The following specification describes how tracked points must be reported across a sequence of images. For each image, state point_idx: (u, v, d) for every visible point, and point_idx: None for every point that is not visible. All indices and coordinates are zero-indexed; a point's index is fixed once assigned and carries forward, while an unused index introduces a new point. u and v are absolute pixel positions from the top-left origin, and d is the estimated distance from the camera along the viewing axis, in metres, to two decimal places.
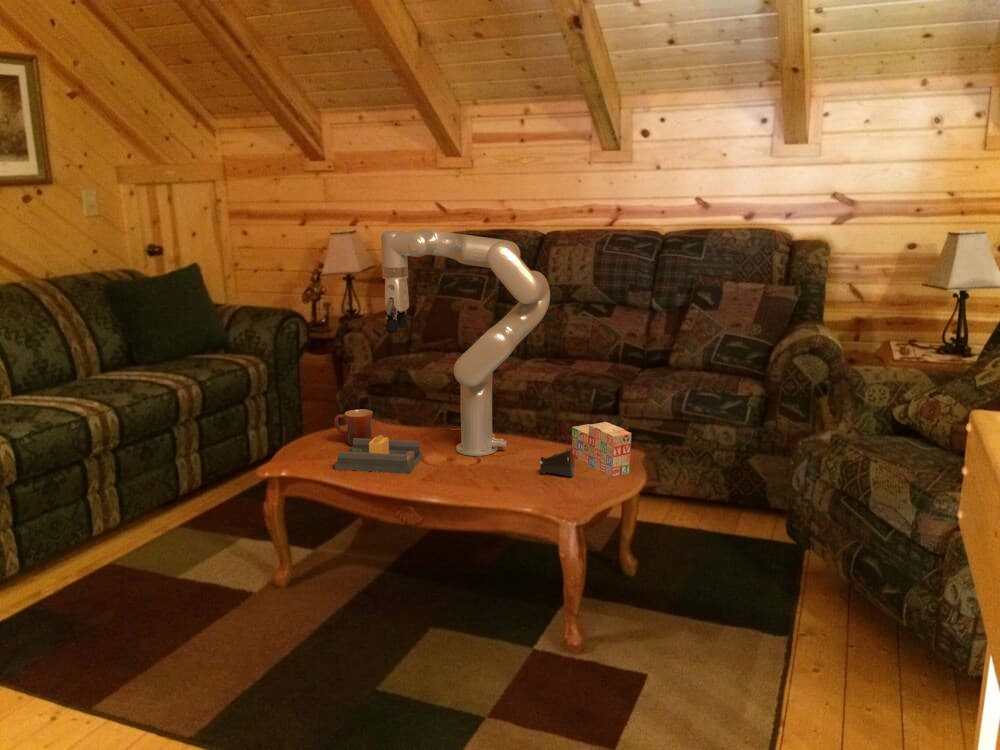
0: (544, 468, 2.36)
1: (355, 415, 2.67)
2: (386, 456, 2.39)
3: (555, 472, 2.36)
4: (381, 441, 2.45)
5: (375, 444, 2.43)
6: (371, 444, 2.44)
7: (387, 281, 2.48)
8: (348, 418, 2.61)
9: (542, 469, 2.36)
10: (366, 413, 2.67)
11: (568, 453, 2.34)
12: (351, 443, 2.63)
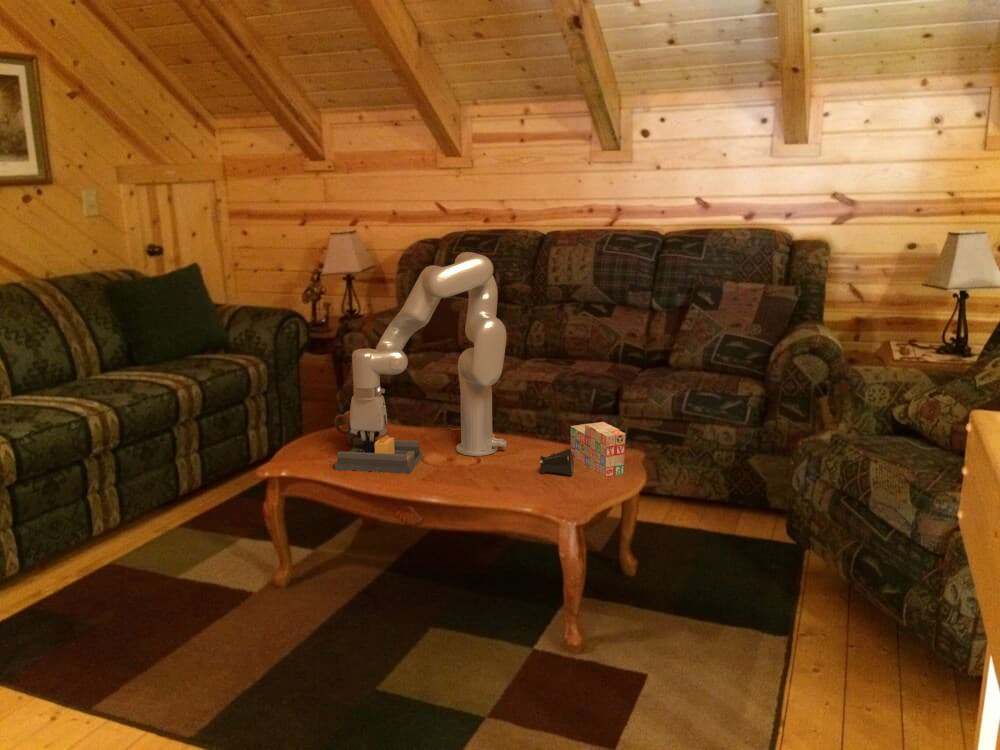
0: (544, 467, 2.37)
1: None
2: (386, 456, 2.39)
3: (555, 471, 2.37)
4: (387, 441, 2.45)
5: (381, 444, 2.43)
6: (377, 444, 2.43)
7: (380, 400, 2.42)
8: (348, 418, 2.61)
9: (542, 468, 2.37)
10: None
11: (568, 452, 2.35)
12: (351, 443, 2.63)
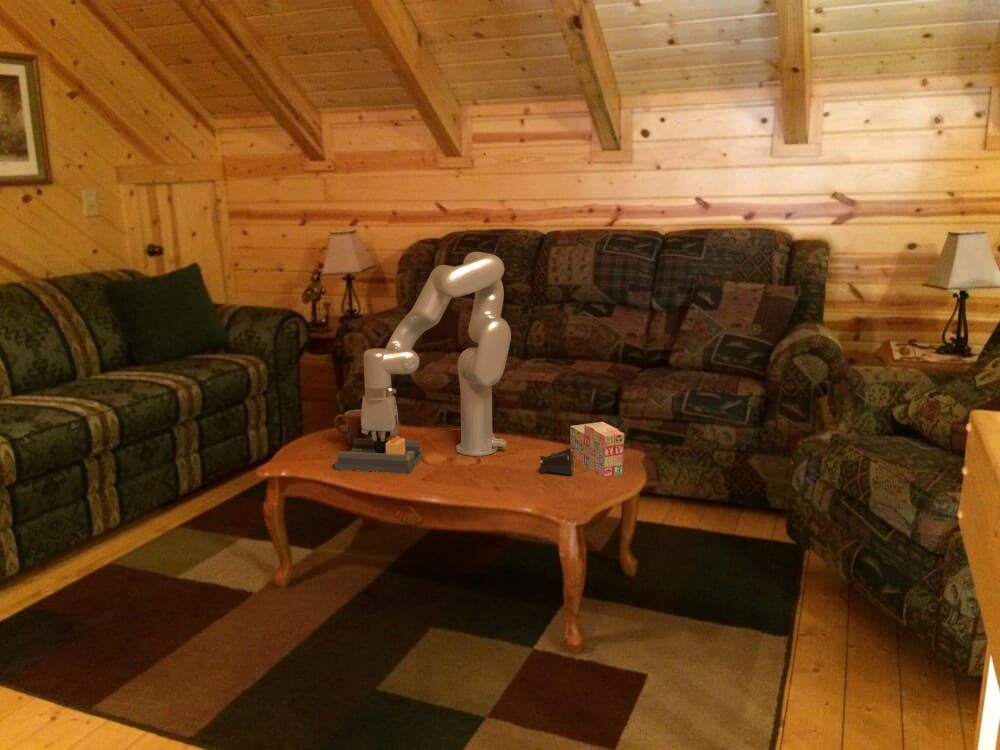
0: (544, 467, 2.37)
1: (355, 415, 2.67)
2: (386, 456, 2.39)
3: (555, 471, 2.37)
4: (398, 442, 2.44)
5: (392, 445, 2.43)
6: (388, 445, 2.43)
7: (391, 400, 2.42)
8: (348, 418, 2.61)
9: (542, 468, 2.37)
10: None
11: (568, 452, 2.36)
12: (351, 443, 2.63)
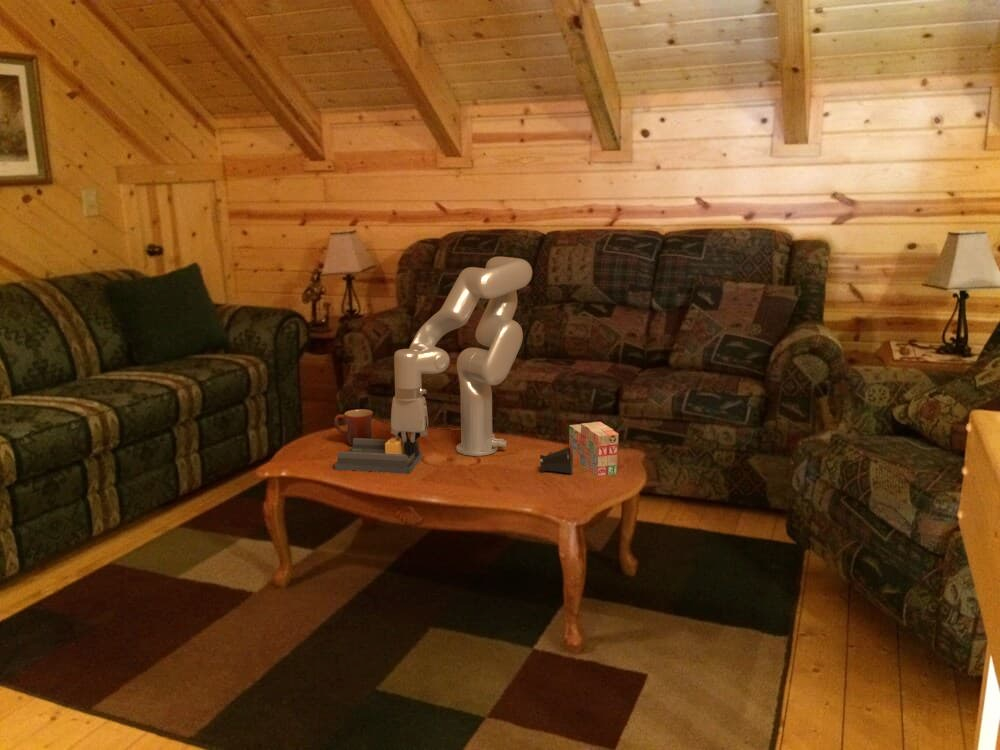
0: (544, 466, 2.38)
1: (355, 415, 2.67)
2: (386, 456, 2.39)
3: (555, 469, 2.38)
4: (397, 442, 2.44)
5: (391, 445, 2.43)
6: (387, 445, 2.43)
7: (422, 401, 2.40)
8: (348, 418, 2.61)
9: (542, 467, 2.38)
10: (366, 413, 2.67)
11: (568, 450, 2.37)
12: (351, 443, 2.63)
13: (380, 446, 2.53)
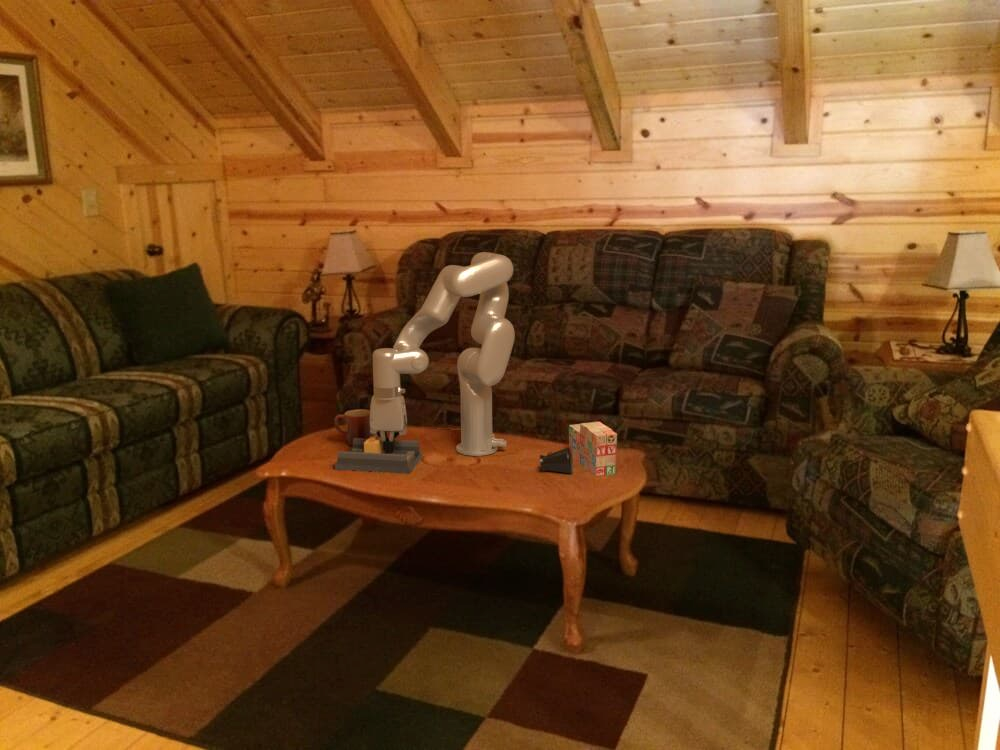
0: (544, 466, 2.38)
1: (355, 415, 2.67)
2: (386, 456, 2.39)
3: (555, 469, 2.38)
4: (376, 441, 2.45)
5: (370, 444, 2.44)
6: (366, 444, 2.44)
7: (400, 400, 2.41)
8: (348, 418, 2.61)
9: (542, 467, 2.38)
10: (366, 413, 2.67)
11: (568, 450, 2.37)
12: (351, 443, 2.63)
13: None
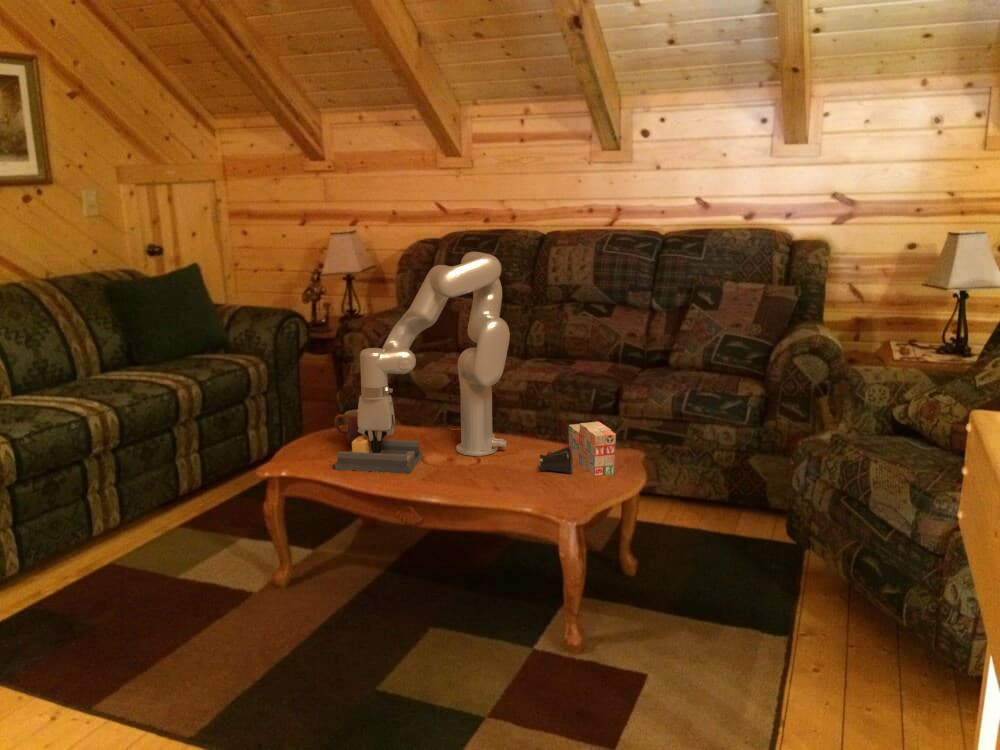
0: (544, 465, 2.38)
1: (355, 415, 2.67)
2: (386, 456, 2.39)
3: (555, 469, 2.38)
4: (364, 440, 2.46)
5: (358, 443, 2.44)
6: (354, 443, 2.44)
7: (388, 399, 2.42)
8: (348, 418, 2.61)
9: (542, 466, 2.38)
10: None
11: (568, 450, 2.37)
12: (351, 443, 2.63)
13: None
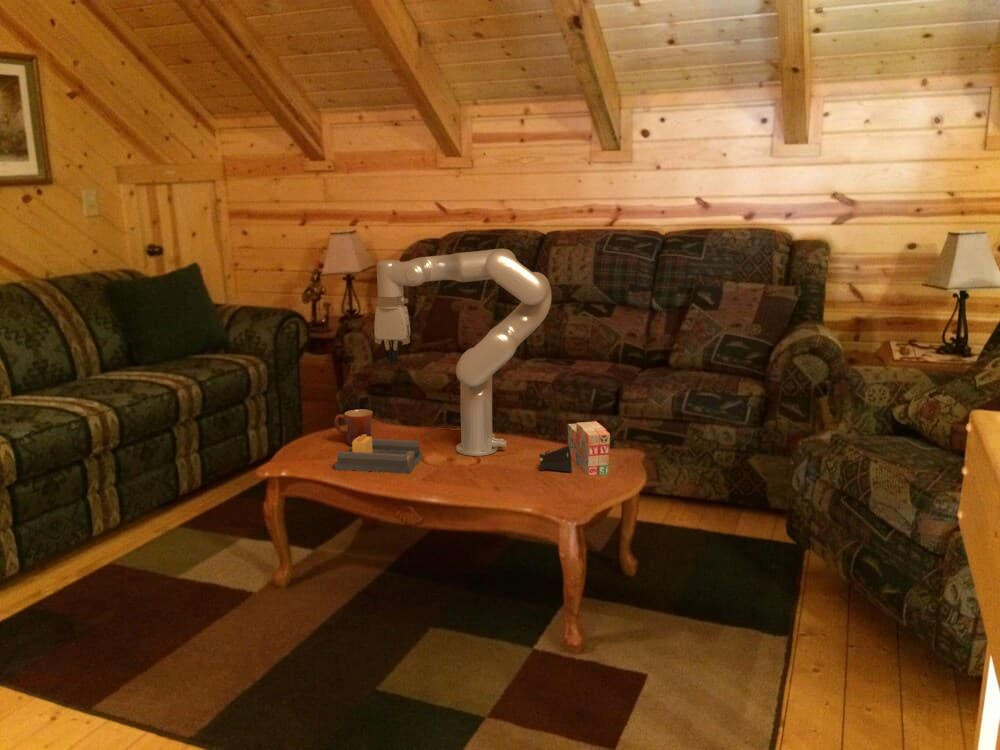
0: (544, 464, 2.39)
1: (355, 415, 2.67)
2: (386, 456, 2.39)
3: (555, 468, 2.39)
4: (364, 440, 2.46)
5: (358, 443, 2.44)
6: (354, 443, 2.44)
7: (403, 309, 2.51)
8: (348, 418, 2.61)
9: (542, 466, 2.39)
10: (366, 413, 2.67)
11: (567, 449, 2.38)
12: (351, 443, 2.63)
13: (380, 446, 2.53)
